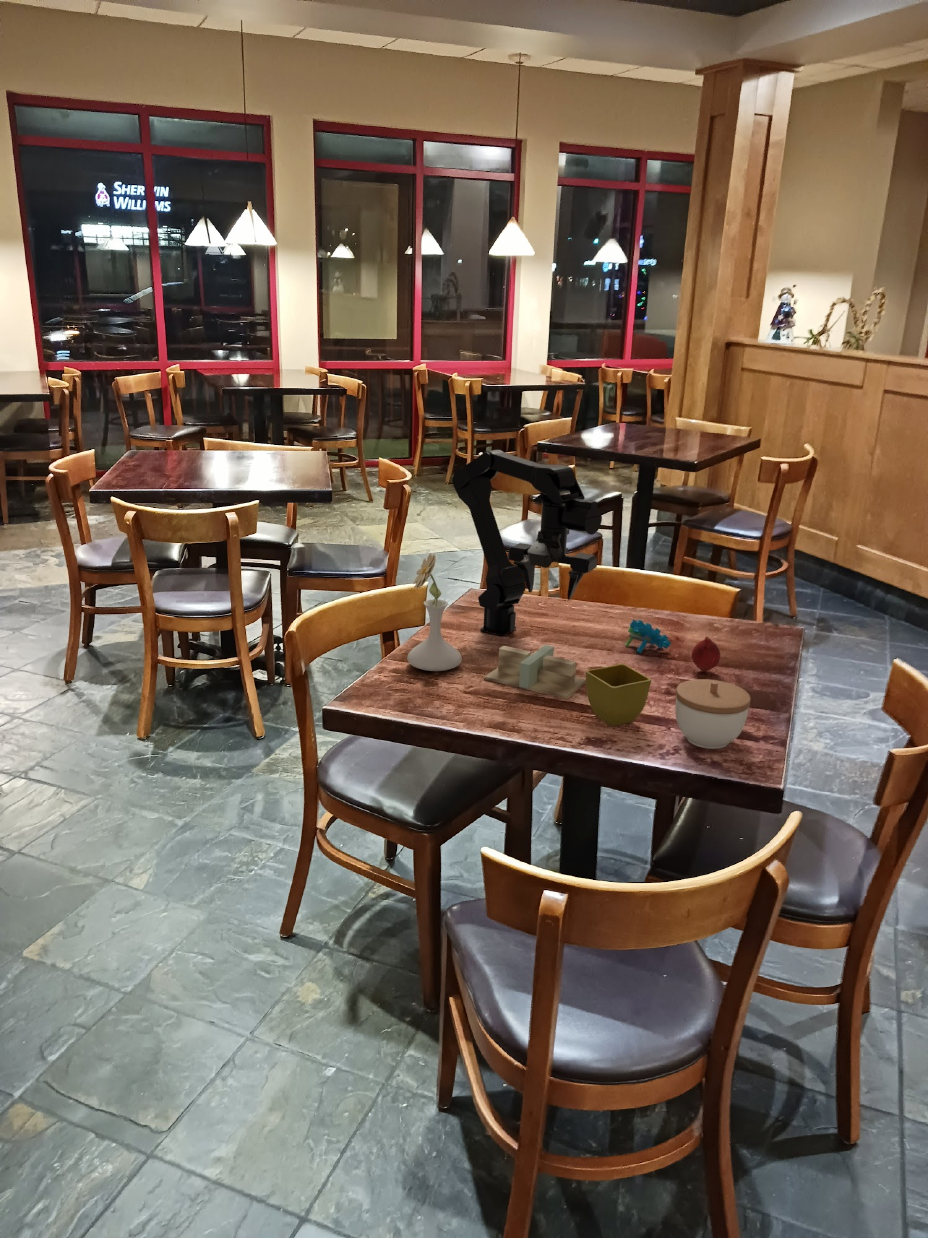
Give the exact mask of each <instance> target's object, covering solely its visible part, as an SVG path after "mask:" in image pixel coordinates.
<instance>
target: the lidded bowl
mask: <svg viewBox="0 0 928 1238" xmlns="http://www.w3.org/2000/svg"><path fill="white" fill-rule="evenodd" d="M751 700H752V699H751V695H750V694H749V693H748V691H746V690H745V689H743V687H740V686H737V685H736V684H733V683H730V682H726V681H722V680H716V679H706V678H701V679H700V678H699V679H698V678H697V679H689V680H685V681H683V682H680V683H679V684H678V685H677V686H676V690H675V704H674V705H675V708H674V709H675V718H676V723H677V725H678V728H679V730H680V731H681V733H682V734H683V735H684V737H686V740H687V742H689V743H690V744H692V745H693V746H696V747H698V748H703V749H708V750H719V749H723V748H726V747H727V746H728V745H729V744H730V743H732V742H733V741H734V740H735V739H737V738H738V737H739V736H740V735H741V733H742V731H743V730H744V727H745V724H746V721H747V718H748V714H749V708H750V705H751Z"/></svg>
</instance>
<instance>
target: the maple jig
mask: <svg viewBox="0 0 928 1238" xmlns="http://www.w3.org/2000/svg"><path fill="white" fill-rule="evenodd" d="M530 655H532V652H531V651H530V650H525V649H521V648H515V647H511V646H506V645H502V646H500V647H499V648H498V665H497V668H495V669H493V670H492V671H491V672H489V673H487V674H486V675H485V676H484V680H486V681H490V682H493V683H497V684H498V683H499V684H502V685H507V686H511V687H515V688H520V689H523V690H528V691H533V692H536V693H539V694H545V695H548V696H554V697H557V698H562V699H566V700H568V699H569V698H570V697H571V696H573V694H575V693H576V692H577V691H578V690H579V689H581V687H582V686H583V685H585V684H586V678H581V677H577V676H576V669H577V661H575V660H571V659H566V658H562V657H557V656H554V655H553V656H549V655H547V656H546V657H544V658H543V666H542V667H541V668H540V669H538V673H537V682H536V683H535V684H533V685H532V686H531V687H530V688H528V689H527V688H523V687H519V677H520V663H521V662H522V661H524V660H525V659H526V658H528V657H529V656H530Z"/></svg>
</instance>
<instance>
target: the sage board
mask: <svg viewBox="0 0 928 1238" xmlns="http://www.w3.org/2000/svg"><path fill="white" fill-rule="evenodd" d="M554 649H555V646H553V645H547V644H544V645H543V646H542V647H540V648H539V649H537V650H536V651H534V652H533V653H531V655H530V656H529V657H528V658H526V659H525V660H524V661H522V662H521V663H520V677H519V687H523V688H527V689H528V688H530V687H531V686H532V685H533V684H535V683H536V682H537V673H538V669H540V668H541V667H542V666H543V658H544V657H546V656H547V655H549V656H553V657H554V654H555V653H554ZM519 687H518V688H519ZM523 688H522V689H523ZM527 689H526V690H527Z"/></svg>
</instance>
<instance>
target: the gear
mask: <svg viewBox="0 0 928 1238" xmlns="http://www.w3.org/2000/svg"><path fill="white" fill-rule="evenodd" d="M627 632H628V633H629V634H628V637H629V638H628V640H627V641H626V643H625V647H629V646H630V644H631V643H632V641H633V640H635V641H638V642H641V643H640V645H639V647H638V648H637V650H636V653H638V654H641V653H642V652H643V650H644V649H645V648H646V646H647V644H650V645H651V646H655V645H656V646H657V648H659V649H663V648H664V649H666V650H667V649H668V648H669V647H670V646H671V644H672V642H671V641H670V640H669V637H668V636H667V635H666V634H662V635H661V632H662V630H660V629H658V628H657V627H656V628H653V625H652V624H651V623H648V622H646V623H644V622H643V620H640V619H637V620H635V619H633V620H632V621H631V622H630V624H629V628H628V630H627Z"/></svg>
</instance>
